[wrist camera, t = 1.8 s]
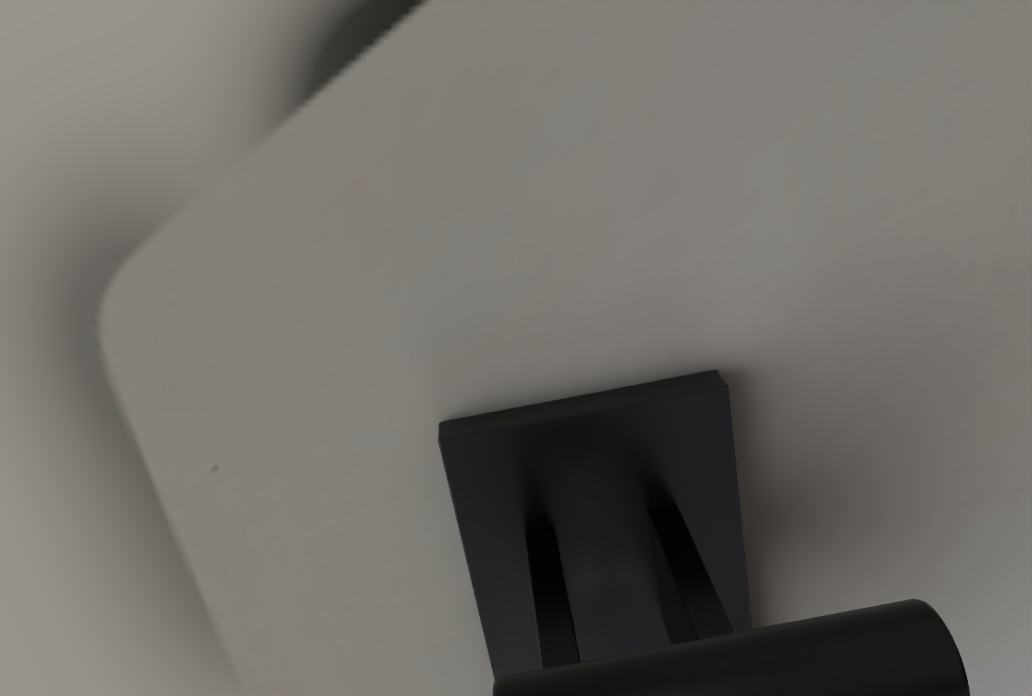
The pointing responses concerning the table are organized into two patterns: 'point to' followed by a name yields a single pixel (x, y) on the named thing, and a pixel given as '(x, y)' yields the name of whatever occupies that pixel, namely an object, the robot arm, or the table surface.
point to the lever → (777, 661)
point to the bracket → (601, 522)
